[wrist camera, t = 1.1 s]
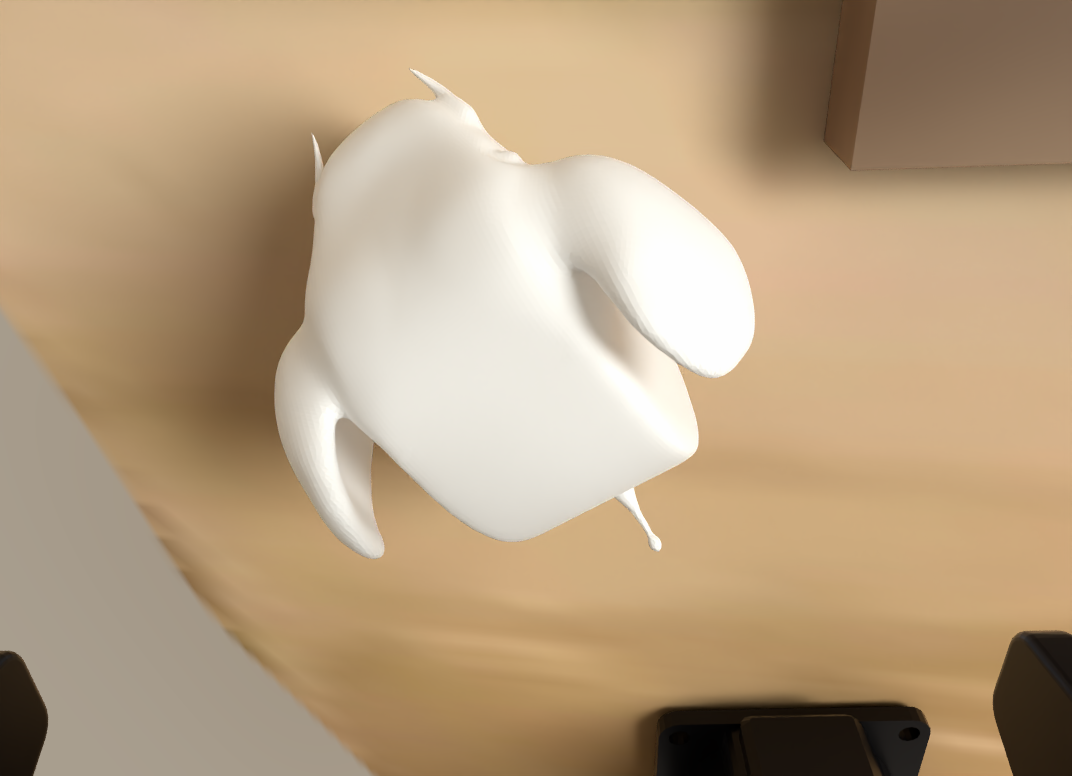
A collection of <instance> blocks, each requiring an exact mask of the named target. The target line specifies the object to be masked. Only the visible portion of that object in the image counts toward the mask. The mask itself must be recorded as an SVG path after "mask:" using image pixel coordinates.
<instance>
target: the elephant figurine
mask: <svg viewBox="0 0 1072 776" xmlns="http://www.w3.org/2000/svg"><path fill="white" fill-rule="evenodd" d="M409 70H410V71H411V72H412V73H413V74H414V75H415V76H416V77H417V78H419V79H420V80H421V81H422V82H423V83H425V84H426V85H427V86H428V87H429V88H430V89H431V90H432V92H433V93H434V94H435V96H436V99H434V100H421V99H409V100H401V101H398V102H395V103H393V104H391V105H389V106H387V107H385V108H384V109H382V110H380V111H379V112H377V113H376V114H374V115H373V116H371V117H370V118H369V119H367V120H366V121H365V122H364V123H362V124H361V125H360V126H359V127H358V128H356V129H355V130H354V131H353V132H352V133H351V134H350V135H349V136H348V137H347V138H346V139H345V140H344V141H343V142H342V143H341V144H340V145H339V146H338V147H337V149H336V150H335V151H334V152H333V153H332V155H331V156H330V158H329V159H328V161H327V163H326V165H325V167H323V162H322V158H321V154H320V151H319V147H318V144H317V142H316V139H315V137H314V136H313V134H312V139H313V146H314V154H315V188H314V194H313V207H312V212H313V217H314V219H315V226H314V239H313V250H312V258H311V264H310V269H309V274H308V280H307V287H306V294H305V317H304V321H303V323H302V325H301V327H300V328H299V329H298V331H297V332H296V333H295V335H294V336H293V337H292V338H291V340H290V341H289V343H288V344H287V346H286V348H285V350H284V351H283V353H282V355H281V358H280V360H279V363H278V367H277V371H276V376H275V391H274V400H275V415H276V421H277V426H278V431H279V435H280V439H281V442H282V445H283V448H284V451H285V453H286V456H287V458H288V461H289V463H290V465H291V467H292V469H293V471H294V473H295V475H296V477H297V478H298V480H299V482H300V484H301V485H302V487H303V489H304V490H305V492H306V494H307V495H308V497H309V499H310V500H311V502H312V504H313V505H314V507H315V509H316V510H317V512H318V514H319V515H320V517H321V518H322V520H323V521H324V523H325V524H326V525H327V527H328V528H329V529H330V530H331V532H332V533H333V534H334V535H335V536H336V537H337V538H338V539H339V540H340V541H341V542H342V543H344V544H345V545H346V546H347V547H349V548H350V549H352V550H353V551H355V552H356V553H358V554H360V555H362V556H364V557H366V558H370V559H377V558H380V557H381V556H382V555H383V553H384V542H383V539H382V536H381V534H380V532H379V530H378V527H377V524H376V520H375V517H374V512H373V506H372V490H371V467H372V455H373V445H374V442H375V443H377V444H378V445H379V446H380V447H381V448H382V449H383V450H384V451H385V452H386V453H387V454H388V455H389V456H390V457H391V458H392V459H393V460H394V461H395V462H396V463H397V464H398V465H399V466H400V467H401V468H402V469H403V470H404V471H405V472H406V473H407V474H408V475H409V476H410V477H411V478H412V479H414V480H415V481H416V482H417V483H418V484H419V485H420V486H421V487H422V488H423V489H424V490H425V491H426V492H427V493H428V494H429V495H430V496H431V497H432V498H433V499H434V500H436V501H437V502H438V503H439V504H440V505H441V506H443V507H444V508H445V509H446V510H447V511H448V512H449V513H451V514H452V515H453V516H455V517H456V518H457V519H459V520H460V521H461V522H463V523H464V524H466V525H467V526H469V527H470V528H472V529H474V530H476V531H478V532H480V533H482V534H484V535H486V536H488V537H491V538H493V539H496V540H500V541H505V542H519V541H524V540H528V539H531V538H534V537H536V536H538V535H541V534H543V533H545V532H547V531H549V530H551V529H553V528H555V527H557V526H559V525H561V524H563V523H565V522H567V521H569V520H571V519H572V518H574V517H576V516H578V515H580V514H582V513H584V512H586V511H588V510H590V509H592V508H594V507H596V506H598V505H600V504H602V503H604V502H606V501H608V500H610V499H612V498H616V499H617V500H618V501H619V502H621V503H622V504H623V505H624V506H625V507H626V508H628V510H629V511H630V512H631V513H632V514H633V515H634V517H635V518H636V520H637V521H638V522H639V523H640V525H641V526H642V528H643V529H644V531H645V532H646V534H647V536H648V543H649V546H650V548H651V549H652V550H654V551H658V552H659V551H660V549H661V541H660V539H659V538H658V537H657V536H655V535H654V534H653V533H652V531H651V529H650V527H649V526H648V524H647V522H646V520H645V518H644V517H643V515H642V513H641V511H640V509H639V505H638V502H637V499H636V496H635V492H634V487H636V486H638V485H640V484H642V483H643V482H645V481H647V480H649V479H651V478H653V477H655V476H657V475H659V474H661V473H663V472H665V471H667V470H669V469H671V468H673V467H675V466H677V465H679V464H680V463H682V462H684V461H685V460H687V459H688V458H690V457H691V456H692V455H693V454H694V453H695V452H696V450H697V447H698V439H699V437H698V427H697V422H696V417H695V414H694V411H693V407H692V404H691V401H690V398H689V395H688V392H687V389H686V386H685V383H684V380H683V378H682V375H681V373H680V370H679V368H678V366H677V363H678V364H680V365H682V366H683V367H685V368H687V369H688V370H690V371H692V372H693V373H695V374H698V375H700V376H703V377H708V378H718V377H720V376H724V375H725V374H727V373H728V372H730V371H731V370H732V369H733V368H734V367H735V366H736V365H737V364H738V362H739V361H740V360H741V359H742V357H743V356H744V355H745V353H746V352H747V350H748V349H749V347H750V345H751V342H752V339H753V336H754V327H755V314H754V306H753V300H752V294H751V289H750V285H749V282H748V278H747V275H746V273H745V270H744V267H743V265H742V263H741V261H740V258H739V256H738V255H737V253H736V251H735V249H734V248H733V246H732V245H731V243H730V242H729V241H728V240H727V239H726V237H725V236H724V235H723V234H722V233H721V232H720V231H719V230H718V229H717V228H716V227H715V226H714V225H713V224H712V223H711V222H710V221H709V220H708V219H707V218H706V217H705V216H703V215H702V214H701V213H700V212H699V211H698V210H697V209H695V208H694V207H693V206H692V205H691V204H689V203H688V202H687V201H685V200H684V199H683V198H682V197H680V196H679V195H678V194H676V193H675V192H674V191H672V190H671V189H670V188H668V187H667V186H665V185H664V184H662V183H661V182H660V181H658V180H657V179H655V178H654V177H652V176H650V175H649V174H647V173H645V172H644V171H642V170H640V169H638V168H637V167H635V166H632V165H630V164H628V163H625V162H623V161H620V160H617V159H614V158H611V157H606V156H601V155H589V154H587V155H576V156H571V157H567V158H563V159H560V160H556V161H553V162H548V163H543V164H535V165H531V164H527V163H525V162H523V160H522V159H521V158H520V157H519V155H518V154H517V153H515V152H512V151H508V150H507V149H505V148H504V147H503V146H502V145H500V144H499V143H498V142H497V141H495V140H494V139H493V138H492V137H491V136H490V135H489V134H488V133H487V132H486V130H485V129H484V127H483V126H482V124H481V122H480V120H479V118H478V116H477V115H476V113H475V111H474V110H473V109H472V107H471V106H469V105H468V104H467V103H466V102H464V101H463V100H462V99H460V98H459V97H457V96H455V95H454V94H453V93H452V92H450V91H449V90H448V89H447V88H445V87H444V86H442V85H441V84H439V83H438V82H436V81H435V80H433V79H431V78H429V77H427V76H426V75H424V74H422V73H420V72H418V71H416V70H412V69H410V68H409Z"/></svg>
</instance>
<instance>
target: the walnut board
mask: <svg viewBox="0 0 1072 776" xmlns="http://www.w3.org/2000/svg"><path fill="white" fill-rule="evenodd" d="M824 142H825V143H826V144H827V145H828V146H829V147H830V148H831V149H832V151H833V152H834V153H835V154H836V155H837V156H838V157H839V158H840V159H841V160H842V161H843V162H844V164H845V165H846V166H847V167H848V168H849V169H850V170H851V171H854V170H884V169H913V168H943V167H973V166H1002V165H1032V164H1062V163H1072V0H843V2H842V10H841V17H840V25H839V32H838V40H837V47H836V55H835V62H834V70H833V77H832V85H831V92H830V100H829V107H828V115H827V122H826V130H825V137H824Z"/></svg>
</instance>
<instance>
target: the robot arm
mask: <svg viewBox="0 0 1072 776" xmlns="http://www.w3.org/2000/svg"><path fill="white" fill-rule="evenodd" d="M993 710H994V716H995V720H996V723H997V727H998V730H999V733H1000V736H1001V739H1002V742H1003V745H1004V748H1005V751H1006V755H1007V758H1008V761H1009V764H1010V767H1011V770H1012V773H1013V776H1072V635H1071V634H1069V633H1067V632H1063V631H1023V632H1019V633H1018V634H1017V635H1015V636H1014V637H1013V638H1012V641H1011V643H1010V645H1009V648H1008V651H1007V654H1006V657H1005V660H1004V663H1003V666H1002V669H1001V672H1000V675H999V677H998V680H997V683H996V686H995V689H994V694H993ZM47 728H48V714H47V709H46V706H45V704H44V702H43V700H42V697H41V695H40V693H39V691H38V689H37V687H36V685H35V683H34V681H33V679H32V677H31V675H30V673H29V670H28V669H27V666H26V664H25V662H24V660H23V659H22V658H21V657H20V656H19V655H18V654H16V653H15V652H12V651H0V776H33V774H34V771H35V768H36V765H37V762H38V759H39V756H40V753H41V750H42V747H43V744H44V741H45V738H46V734H47ZM929 736H930V727H929V724H928V722H927V720H926V718H925V715H924V714H923V712H922V711H921V710H919V709H917V708H915V707H855V708H803V709H751V710H699V711H674V712H669V713H667V714H665V715H663V716H662V717H661V718H660V719H659V720H658V723H657V730H656V749H655V768H654V776H918V773H919V770H920V766H921V763H922V760H923V756H924V753H925V750H926V746H927V743H928V740H929Z"/></svg>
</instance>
